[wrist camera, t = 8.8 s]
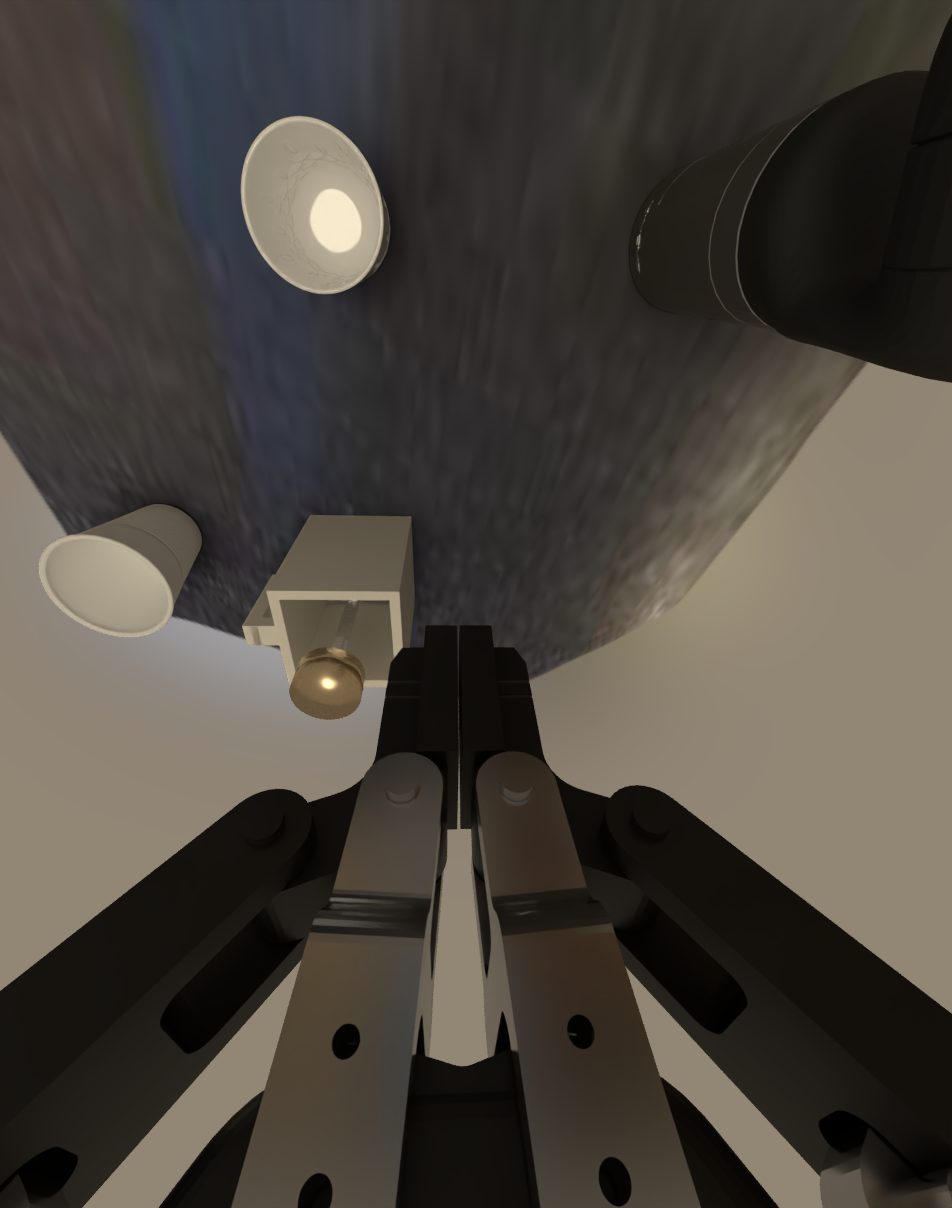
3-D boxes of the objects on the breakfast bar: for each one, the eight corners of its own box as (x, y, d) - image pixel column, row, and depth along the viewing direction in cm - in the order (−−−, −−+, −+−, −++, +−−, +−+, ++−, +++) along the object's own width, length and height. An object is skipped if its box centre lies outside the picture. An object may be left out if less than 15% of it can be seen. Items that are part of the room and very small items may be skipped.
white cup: (361, 313, 39) (337, 324, 31) (270, 233, 36) (216, 222, 28) (420, 218, 36) (410, 202, 28) (325, 121, 33) (283, 71, 25)
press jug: (411, 516, 49) (399, 591, 38) (414, 599, 55) (405, 687, 43) (279, 514, 48) (225, 590, 37) (296, 598, 54) (254, 687, 42)
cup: (118, 467, 45) (34, 516, 36) (230, 506, 48) (178, 561, 39) (114, 554, 50) (40, 617, 41) (216, 586, 53) (167, 651, 44)
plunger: (398, 533, 49) (374, 654, 33) (402, 596, 53) (382, 730, 37) (321, 531, 48) (260, 654, 33) (331, 596, 52) (281, 731, 37)
